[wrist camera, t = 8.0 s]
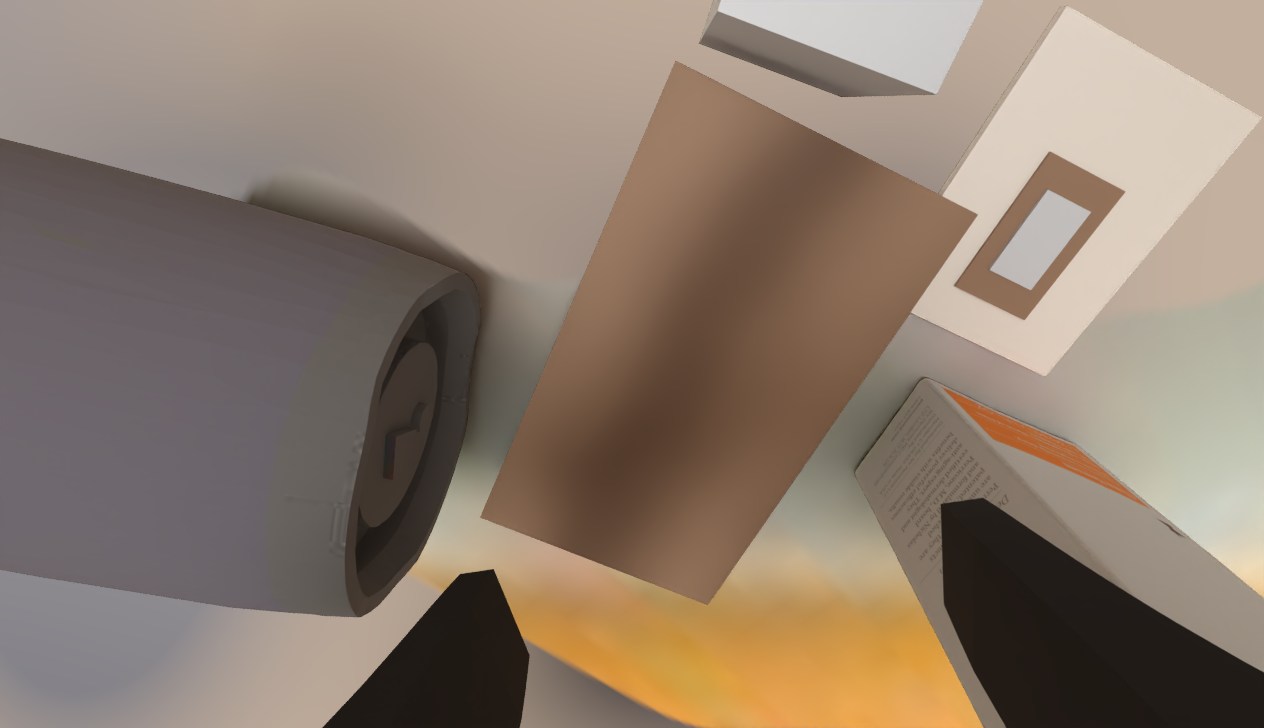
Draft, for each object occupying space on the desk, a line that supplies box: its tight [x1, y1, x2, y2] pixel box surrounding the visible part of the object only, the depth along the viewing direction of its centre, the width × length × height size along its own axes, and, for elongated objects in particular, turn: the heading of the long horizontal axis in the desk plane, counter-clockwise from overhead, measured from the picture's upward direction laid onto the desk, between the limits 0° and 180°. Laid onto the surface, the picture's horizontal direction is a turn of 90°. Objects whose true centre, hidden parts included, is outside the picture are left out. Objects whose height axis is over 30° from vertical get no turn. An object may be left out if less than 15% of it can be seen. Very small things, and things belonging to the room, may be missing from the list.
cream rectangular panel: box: [910, 6, 1262, 376], centre depth 16 cm, size 6×8×1 cm
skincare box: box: [855, 378, 1264, 728], centre depth 14 cm, size 6×4×12 cm
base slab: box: [481, 61, 978, 605], centre depth 17 cm, size 8×14×2 cm, turn 156°
